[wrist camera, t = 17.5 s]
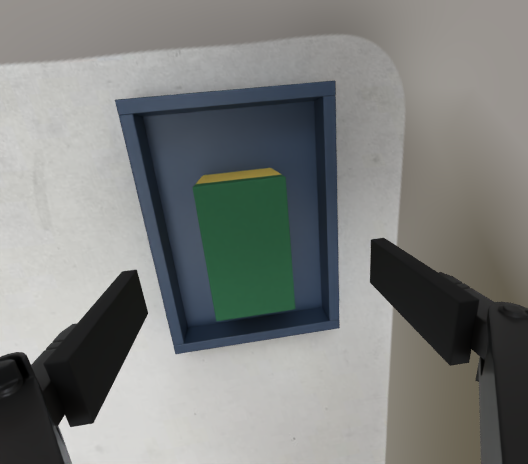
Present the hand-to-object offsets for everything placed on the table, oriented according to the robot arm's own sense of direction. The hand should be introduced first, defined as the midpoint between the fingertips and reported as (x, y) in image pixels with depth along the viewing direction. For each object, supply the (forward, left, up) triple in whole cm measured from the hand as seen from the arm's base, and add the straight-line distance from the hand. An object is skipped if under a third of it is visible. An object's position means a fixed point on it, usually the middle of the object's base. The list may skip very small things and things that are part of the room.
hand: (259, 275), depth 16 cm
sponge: (0, 0, -11) cm, 11 cm away
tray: (0, 0, -12) cm, 12 cm away
